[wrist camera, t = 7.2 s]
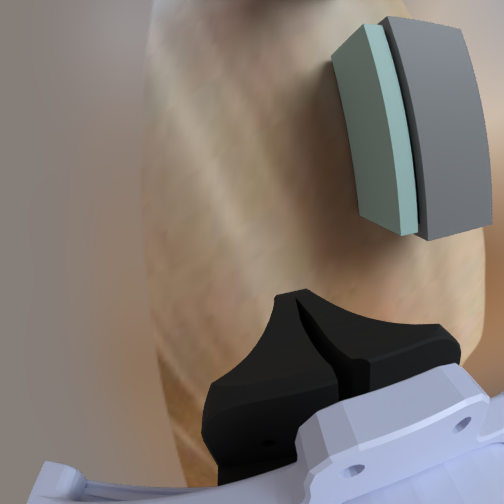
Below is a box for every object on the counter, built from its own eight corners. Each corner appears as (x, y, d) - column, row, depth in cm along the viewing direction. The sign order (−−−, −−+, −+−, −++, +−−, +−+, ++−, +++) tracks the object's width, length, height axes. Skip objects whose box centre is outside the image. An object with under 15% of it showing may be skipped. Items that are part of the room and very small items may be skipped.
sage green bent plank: (373, 212, 21) (418, 232, 15) (359, 215, 21) (400, 236, 15) (346, 55, 18) (382, 25, 12) (330, 56, 18) (363, 23, 12)
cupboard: (435, 205, 22) (492, 224, 15) (377, 217, 22) (428, 241, 15) (409, 53, 18) (460, 29, 11) (346, 51, 18) (387, 16, 11)
